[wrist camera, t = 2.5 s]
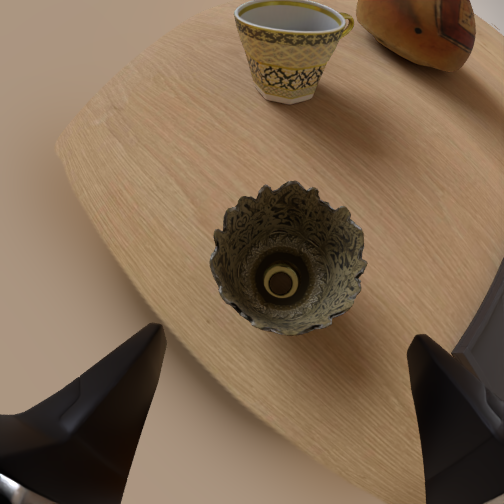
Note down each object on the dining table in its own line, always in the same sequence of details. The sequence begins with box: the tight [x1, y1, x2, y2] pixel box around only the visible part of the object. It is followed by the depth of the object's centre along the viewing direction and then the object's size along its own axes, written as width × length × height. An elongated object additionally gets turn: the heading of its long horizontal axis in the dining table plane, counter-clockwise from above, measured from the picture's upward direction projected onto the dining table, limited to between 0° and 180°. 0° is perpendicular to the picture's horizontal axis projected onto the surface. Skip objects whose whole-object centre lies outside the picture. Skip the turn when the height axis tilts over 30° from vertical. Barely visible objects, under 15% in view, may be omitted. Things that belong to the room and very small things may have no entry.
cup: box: [210, 181, 368, 336], centre depth 16 cm, size 8×7×8 cm
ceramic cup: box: [234, 0, 354, 105], centre depth 22 cm, size 13×10×10 cm
